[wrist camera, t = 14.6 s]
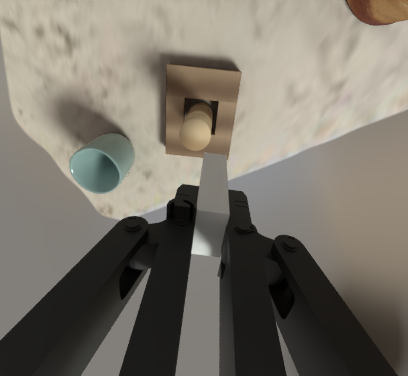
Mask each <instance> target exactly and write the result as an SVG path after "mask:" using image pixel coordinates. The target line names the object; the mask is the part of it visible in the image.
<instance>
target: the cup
mask: <svg viewBox="0 0 408 376" xmlns="http://www.w3.org/2000/svg"><path fill="white" fill-rule="evenodd" d="M134 160H135V151H134V148H133V146H132V144H131V143H130V142H129V140H128V139H126V138H125V137H124V136H122V135H120V134H117V133H108V134H104V135H101V136H99V137H97V138H95V139H93V140H92V141H90V142H89V143H87V144H86V145H84V146H83V147H81V148H80V149H79V150H78V151H76V152H75V153H74V155H73V156H72V157H71V160H70V164H69V167H70V171H71V174H72V176H73V177H74V179H75V180H76V181H77V182H78V183H79V184H80V185H81V186H82V187H83V188H85V189H86V190H88V191H90V192H93V193H97V194H105V193H109V192H111V191H113V190H114V189H116V188H117V187H118V186H119V185H120V184H121V183H122V181H123V180H124V179H125V177H126V176H127V174H128V173H129V171H130V170H131V168H132V166H133V164H134Z"/></svg>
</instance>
